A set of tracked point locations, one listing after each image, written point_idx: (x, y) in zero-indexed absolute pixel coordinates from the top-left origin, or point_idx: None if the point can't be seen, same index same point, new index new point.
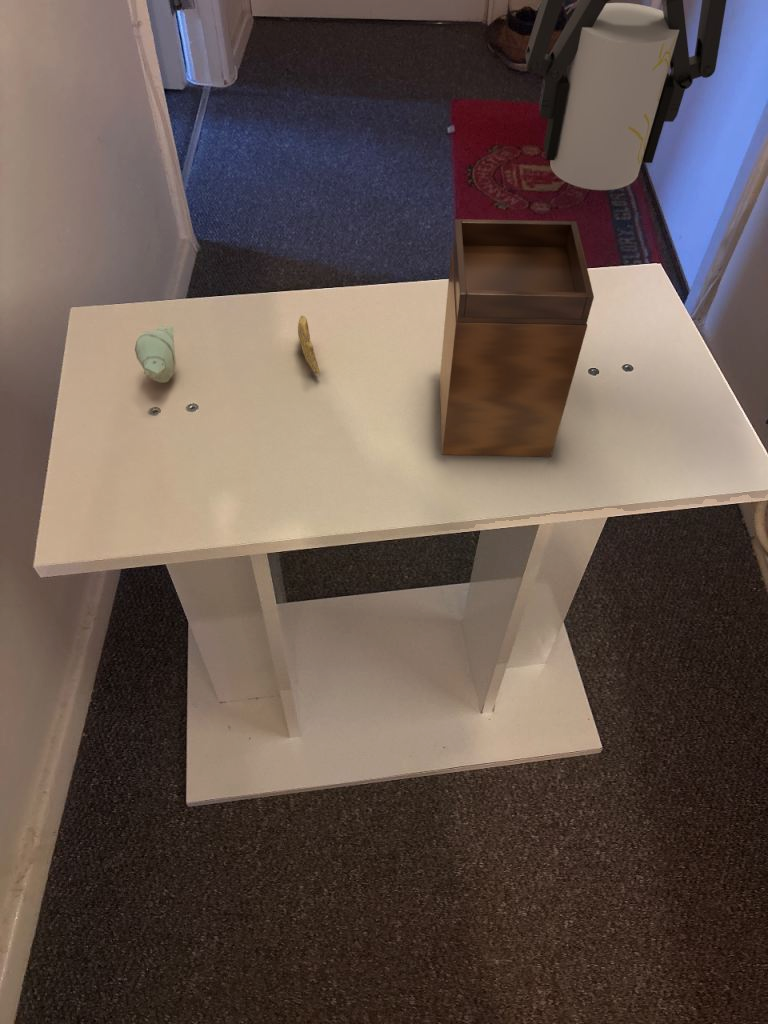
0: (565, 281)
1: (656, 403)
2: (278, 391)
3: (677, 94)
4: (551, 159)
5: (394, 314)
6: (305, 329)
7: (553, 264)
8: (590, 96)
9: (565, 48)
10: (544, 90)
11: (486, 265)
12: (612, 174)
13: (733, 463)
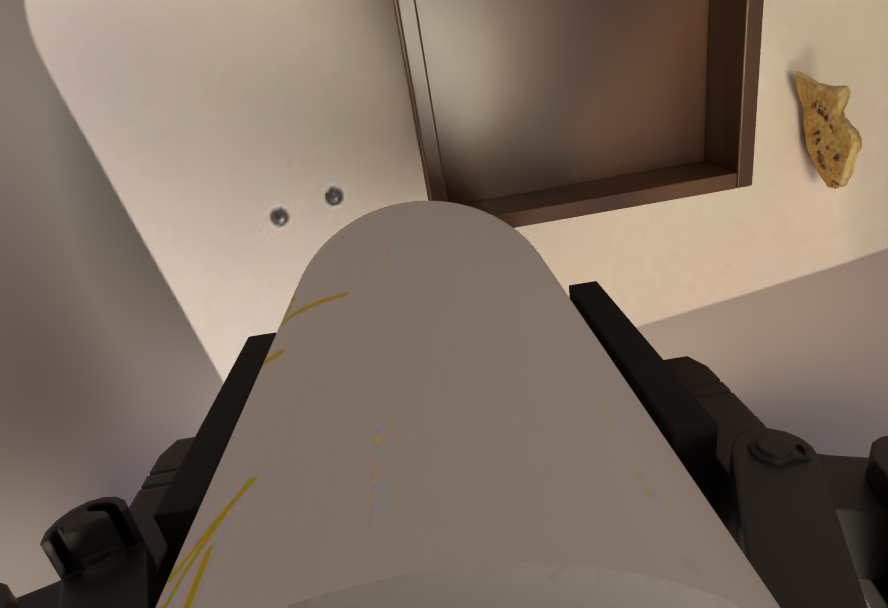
0: (442, 55)
1: (221, 139)
2: (855, 36)
3: (150, 515)
4: (579, 285)
5: (663, 267)
6: (849, 137)
7: (474, 125)
8: (572, 349)
9: (832, 562)
10: (753, 417)
11: (641, 87)
12: (375, 224)
13: (70, 9)
